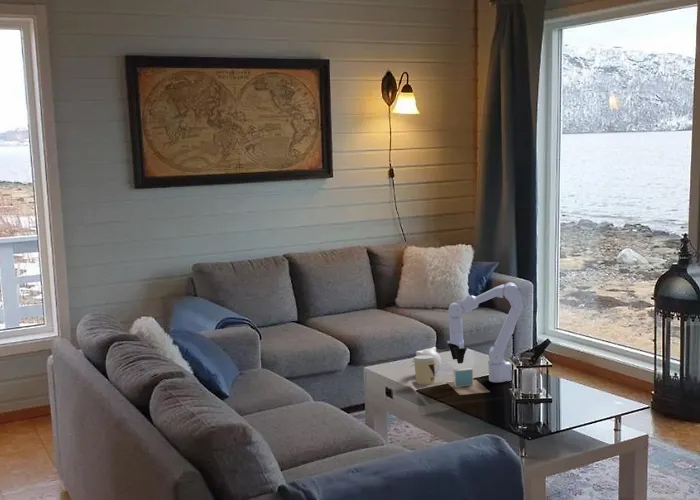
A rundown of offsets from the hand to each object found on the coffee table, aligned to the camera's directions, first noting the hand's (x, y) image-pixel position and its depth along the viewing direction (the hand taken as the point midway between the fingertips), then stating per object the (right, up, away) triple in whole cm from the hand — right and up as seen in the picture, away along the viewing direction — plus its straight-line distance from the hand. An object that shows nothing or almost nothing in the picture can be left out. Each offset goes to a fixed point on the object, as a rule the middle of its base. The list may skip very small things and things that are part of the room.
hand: (457, 361), depth 344 cm
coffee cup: (-14, -11, +2) cm, 17 cm away
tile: (+2, -9, -7) cm, 12 cm away
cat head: (-11, -9, +16) cm, 22 cm away
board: (+3, -11, -10) cm, 15 cm away
